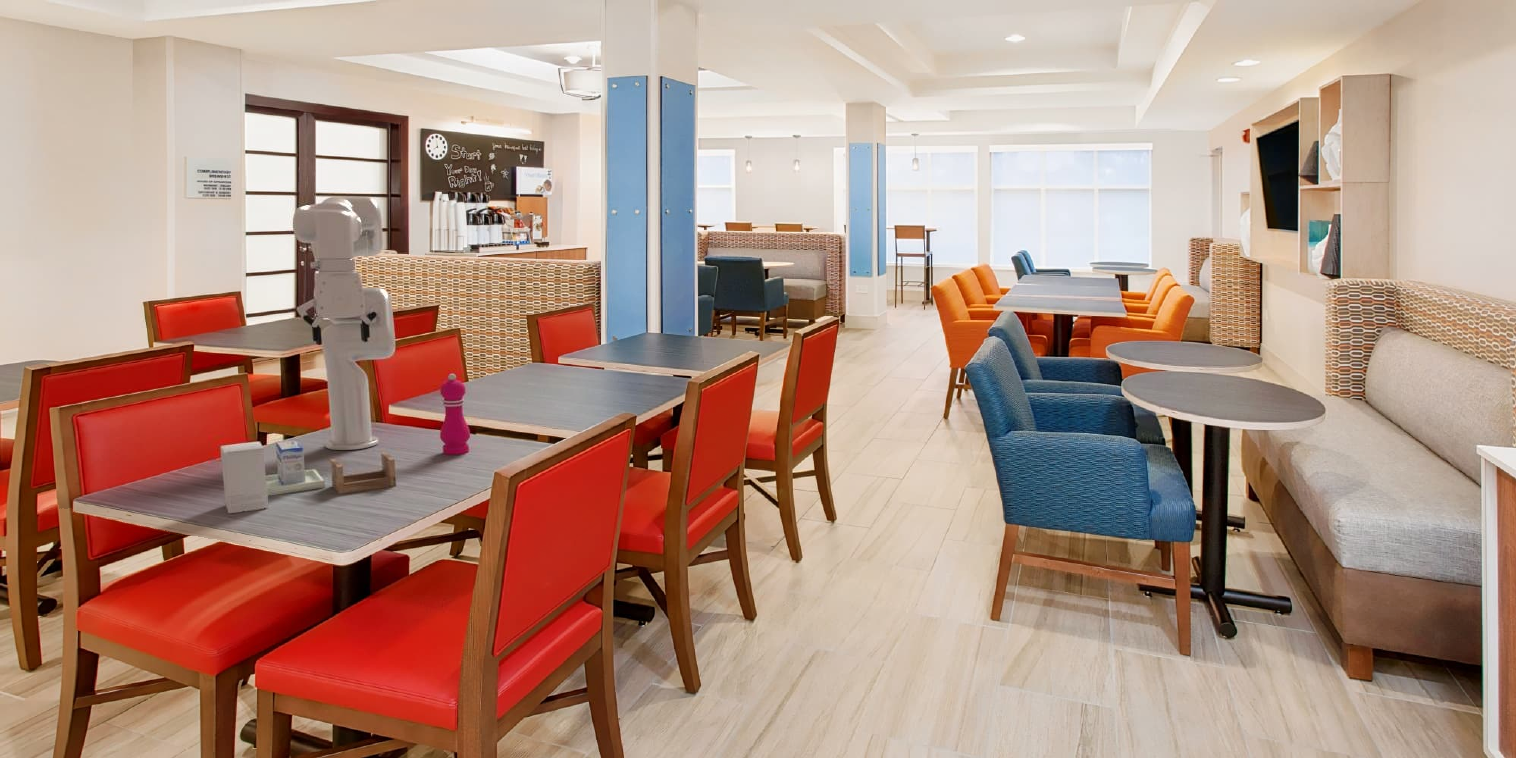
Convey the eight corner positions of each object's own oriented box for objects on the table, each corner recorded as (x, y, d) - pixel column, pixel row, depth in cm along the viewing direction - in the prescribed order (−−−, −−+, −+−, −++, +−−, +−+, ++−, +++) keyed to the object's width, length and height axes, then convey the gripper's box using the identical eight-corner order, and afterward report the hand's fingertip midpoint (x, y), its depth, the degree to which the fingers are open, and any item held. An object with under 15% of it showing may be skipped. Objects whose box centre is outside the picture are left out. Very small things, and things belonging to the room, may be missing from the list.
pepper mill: (461, 456, 232) (457, 376, 229) (435, 454, 234) (430, 375, 230) (476, 449, 239) (472, 372, 236) (450, 447, 241) (446, 370, 237)
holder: (332, 485, 206) (330, 459, 205) (387, 477, 213) (385, 452, 212) (339, 494, 200) (337, 466, 199) (396, 485, 207) (394, 459, 206)
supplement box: (269, 508, 190) (264, 447, 188) (227, 514, 186) (221, 452, 184) (265, 499, 196) (260, 440, 194) (225, 504, 193) (219, 445, 190)
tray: (260, 483, 208) (259, 476, 208) (315, 475, 214) (314, 469, 214) (267, 495, 199) (267, 488, 198) (324, 487, 205) (324, 480, 205)
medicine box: (278, 480, 208) (274, 442, 207) (300, 477, 211) (297, 439, 209) (283, 488, 202) (280, 449, 200) (306, 485, 204) (303, 446, 203)
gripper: (296, 268, 201) (303, 347, 204) (381, 266, 211) (386, 342, 214) (291, 267, 207) (297, 343, 210) (373, 265, 217) (378, 338, 220)
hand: (342, 342), depth 212 cm, fingers open, 9 cm apart
